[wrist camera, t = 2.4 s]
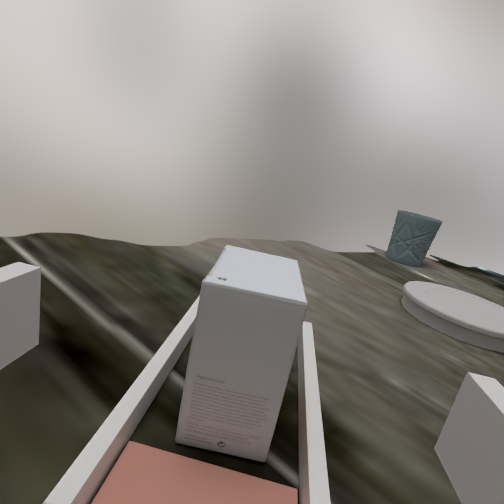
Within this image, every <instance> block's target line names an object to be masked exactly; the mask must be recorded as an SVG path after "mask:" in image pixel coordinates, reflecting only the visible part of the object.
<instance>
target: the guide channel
mask: <svg viewBox="0 0 504 504" xmlns="http://www.w3.org/2000/svg"><path fill="white" fill-rule="evenodd" d="M199 298H200V296H199V297H198V298H197V300H196V301H195V302H194V303H193V305H192V306H191V307H190V309H189V310H188V311H187V313H186V314H185V315H184V317H183V318H182V319H181V321H180V322H179V323H178V325H177V326H176V327H175V329H174V330H173V331H172V333H171V334H170V335H169V337H168V338H167V339H166V341H165V342H164V343H163V345H162V346H161V347H160V349H159V350H158V351H157V353H156V354H155V355H154V357H153V358H152V359H151V361H150V362H149V363H148V365H147V366H146V367H145V368H144V370H143V371H142V372H141V374H140V375H139V376H138V378H137V379H136V380H135V382H134V383H133V384H132V386H131V387H130V388H129V390H128V391H127V392H126V394H125V395H124V396H123V398H122V399H121V400H120V402H119V403H118V404H117V406H116V407H115V408H114V410H113V411H112V412H111V414H110V415H109V416H108V418H107V419H106V420H105V422H104V423H103V424H102V426H101V427H100V428H99V430H98V431H97V432H96V433H95V435H94V436H93V437H92V439H91V440H90V441H89V443H88V444H87V445H86V447H85V448H84V449H83V451H82V452H81V453H80V455H79V456H78V457H77V459H76V460H75V461H74V463H73V464H72V465H71V467H70V468H69V469H68V471H67V472H66V473H65V475H64V476H63V477H62V479H61V480H60V481H59V483H58V484H57V485H56V487H55V488H54V489H53V491H52V492H51V493H50V495H49V496H48V497H47V498H46V500H45V501H44V502H43V504H90V502H91V500H92V499H93V497H94V495H95V494H96V492H97V491H98V489H99V487H100V486H101V484H102V482H103V481H104V479H105V478H106V476H107V474H108V473H109V471H110V469H111V468H112V466H113V465H114V463H115V461H116V460H117V458H118V456H119V455H120V453H121V452H122V450H123V448H124V447H125V445H126V443H127V442H128V440H129V438H130V437H131V435H132V434H133V432H134V430H135V429H136V427H137V425H138V424H139V422H140V421H141V419H142V417H143V416H144V414H145V412H146V411H147V409H148V408H149V406H150V404H151V403H152V401H153V399H154V398H155V396H156V395H157V393H158V391H159V390H160V388H161V386H162V385H163V383H164V382H165V380H166V378H167V377H168V375H169V373H170V372H171V370H172V368H173V367H174V365H175V364H176V362H177V360H178V359H179V357H180V355H181V354H182V352H183V351H184V349H185V347H186V346H187V344H188V342H189V341H190V339H191V338H192V336H193V332H194V327H195V321H196V315H197V309H198V304H199ZM298 425H299V504H331V503H330V494H329V484H328V474H327V465H326V455H325V445H324V436H323V426H322V417H321V407H320V397H319V388H318V378H317V369H316V359H315V349H314V340H313V330H312V323H308V322H304V321H303V325H302V329H301V332H300V336H299V340H298Z"/></svg>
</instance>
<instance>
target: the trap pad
mask: <svg viewBox="0 0 504 504" xmlns="http://www.w3.org/2000/svg"><path fill="white" fill-rule="evenodd" d="M91 504H298V496H297V489H295V488H292V487H288V486H285V485H281V484H278V483H275V482H271V481H268V480H264V479H261V478H257V477H254V476H250V475H247V474H243V473H240V472H236V471H233V470H229V469H226V468H223V467H219V466H216V465H212V464H209V463H205V462H202V461H198V460H195V459H191V458H188V457H184V456H181V455H177V454H174V453H171V452H167V451H164V450H160V449H157V448H153V447H150V446H146V445H143V444H139V443H136V442H132V441H129V442H128V444H127V445H126V447H125V449H124V450H123V452H122V454H121V455H120V457H119V459H118V460H117V462H116V463H115V465H114V467H113V468H112V470H111V472H110V473H109V475H108V477H107V478H106V480H105V482H104V483H103V485H102V486H101V488H100V490H99V491H98V493H97V495H96V496H95V498H94V500H93V501H92V503H91Z"/></svg>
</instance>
